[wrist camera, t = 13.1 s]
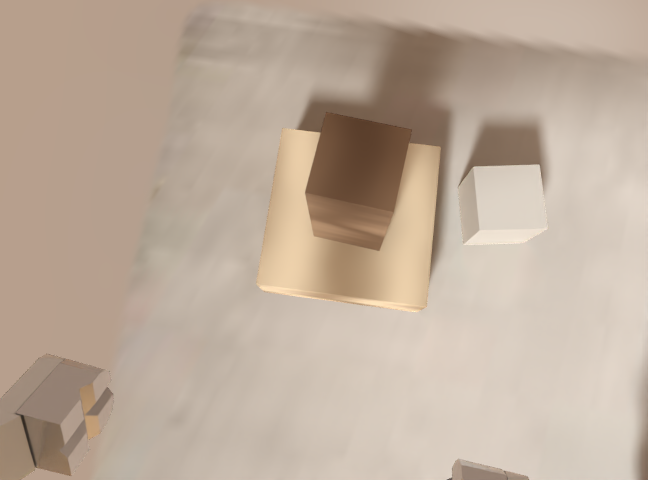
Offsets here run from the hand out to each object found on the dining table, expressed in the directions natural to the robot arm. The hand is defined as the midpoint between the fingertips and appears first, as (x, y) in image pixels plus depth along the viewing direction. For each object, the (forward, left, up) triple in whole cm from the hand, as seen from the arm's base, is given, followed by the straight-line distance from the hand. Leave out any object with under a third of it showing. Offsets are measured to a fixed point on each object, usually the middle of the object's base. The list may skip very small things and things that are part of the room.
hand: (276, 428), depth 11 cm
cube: (-9, -13, -20) cm, 26 cm away
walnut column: (0, -10, -17) cm, 20 cm away
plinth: (0, -10, -21) cm, 23 cm away
